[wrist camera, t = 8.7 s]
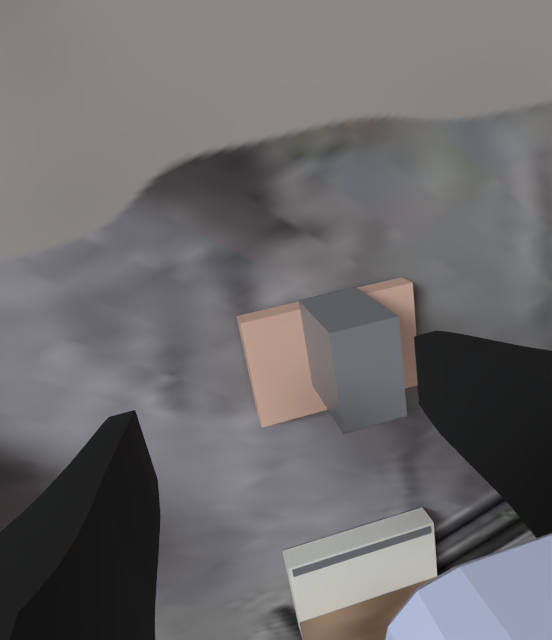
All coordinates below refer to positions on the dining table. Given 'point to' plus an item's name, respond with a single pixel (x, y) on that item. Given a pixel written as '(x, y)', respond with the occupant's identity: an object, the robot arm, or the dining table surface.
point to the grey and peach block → (334, 355)
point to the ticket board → (360, 576)
